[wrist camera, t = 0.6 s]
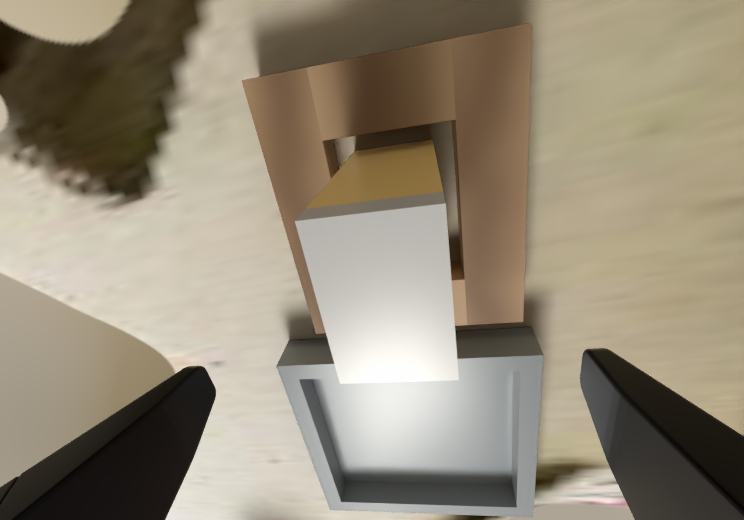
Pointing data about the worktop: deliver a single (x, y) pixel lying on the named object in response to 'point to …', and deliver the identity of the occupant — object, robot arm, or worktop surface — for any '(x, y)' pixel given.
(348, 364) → the tan rectangular block
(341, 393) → the parts tray
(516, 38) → the brown wooden frame
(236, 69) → the worktop surface
